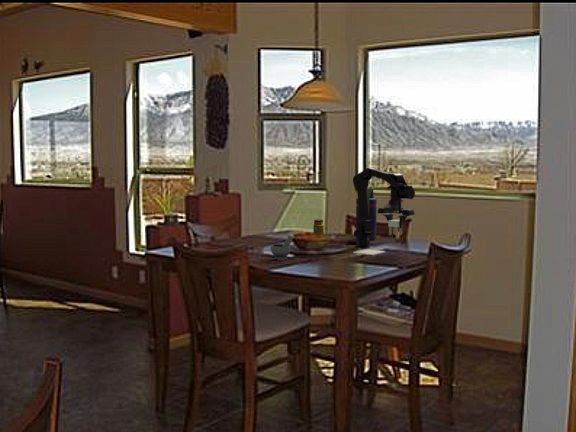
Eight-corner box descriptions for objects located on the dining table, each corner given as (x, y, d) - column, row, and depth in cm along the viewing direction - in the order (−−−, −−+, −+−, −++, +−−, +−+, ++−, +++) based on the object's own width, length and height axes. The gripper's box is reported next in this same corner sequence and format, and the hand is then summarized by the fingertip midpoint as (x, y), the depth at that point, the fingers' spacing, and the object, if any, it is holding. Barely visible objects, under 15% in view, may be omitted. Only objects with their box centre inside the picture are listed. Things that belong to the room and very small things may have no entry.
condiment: (326, 240, 404) (326, 220, 403) (314, 241, 400) (314, 221, 398) (319, 239, 410) (319, 218, 409) (307, 240, 406) (307, 219, 404)
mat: (353, 252, 360) (353, 251, 360) (366, 250, 369) (366, 249, 369) (372, 255, 352) (372, 254, 352) (385, 252, 361) (385, 251, 361)
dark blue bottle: (356, 237, 416) (356, 187, 412) (376, 237, 414) (376, 187, 411) (355, 240, 402) (355, 189, 399) (376, 241, 400) (376, 189, 397)
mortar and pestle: (270, 261, 336) (270, 236, 335) (270, 257, 346) (270, 233, 344) (294, 260, 337) (294, 236, 335) (293, 257, 346) (293, 233, 345)
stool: (388, 234, 360) (388, 220, 359) (393, 233, 364) (393, 219, 363) (397, 235, 356) (397, 221, 355) (402, 234, 360) (403, 220, 359)
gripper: (372, 198, 358) (371, 228, 359) (403, 200, 346) (403, 231, 347) (383, 196, 366) (383, 226, 368) (414, 198, 354) (414, 228, 356)
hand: (395, 228), depth 360 cm, fingers closed on stool, 5 cm apart
